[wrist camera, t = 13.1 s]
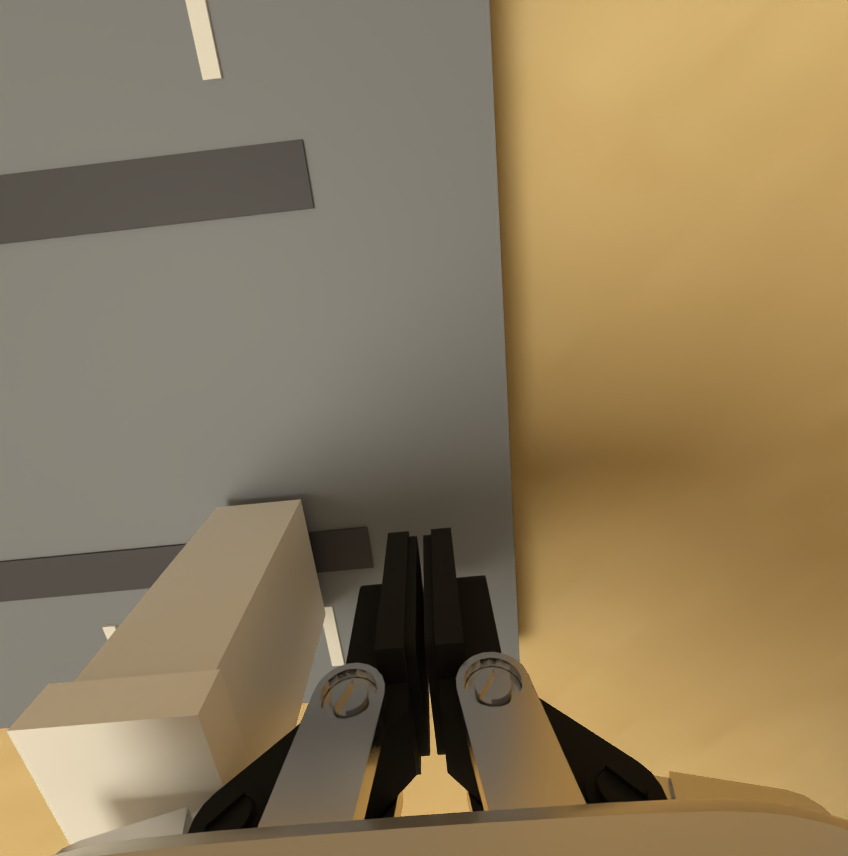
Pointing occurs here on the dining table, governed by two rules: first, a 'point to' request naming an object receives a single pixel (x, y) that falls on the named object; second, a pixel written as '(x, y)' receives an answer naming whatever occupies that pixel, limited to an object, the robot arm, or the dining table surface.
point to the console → (243, 302)
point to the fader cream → (184, 678)
